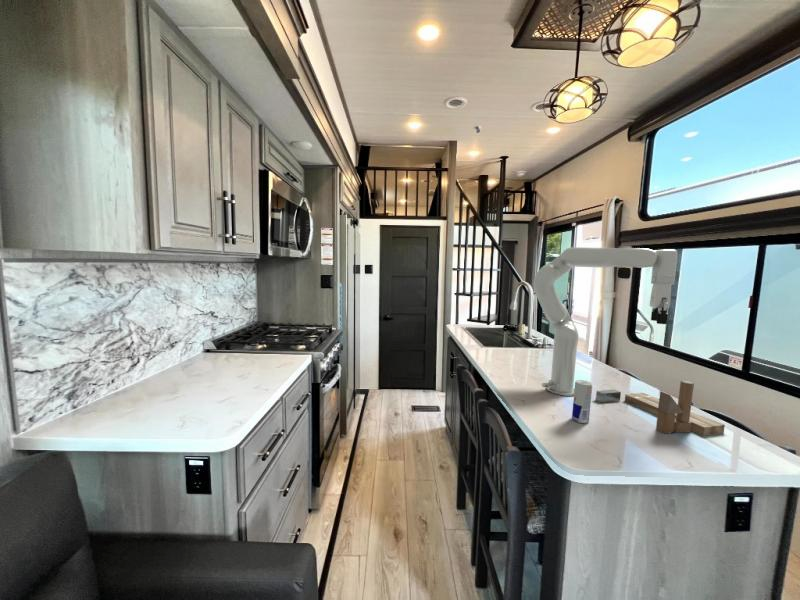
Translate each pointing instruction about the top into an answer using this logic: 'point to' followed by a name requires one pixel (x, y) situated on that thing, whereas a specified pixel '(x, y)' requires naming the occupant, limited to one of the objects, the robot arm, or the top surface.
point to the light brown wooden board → (697, 421)
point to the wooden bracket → (675, 410)
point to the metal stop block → (608, 395)
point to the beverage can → (582, 401)
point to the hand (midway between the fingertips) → (658, 322)
